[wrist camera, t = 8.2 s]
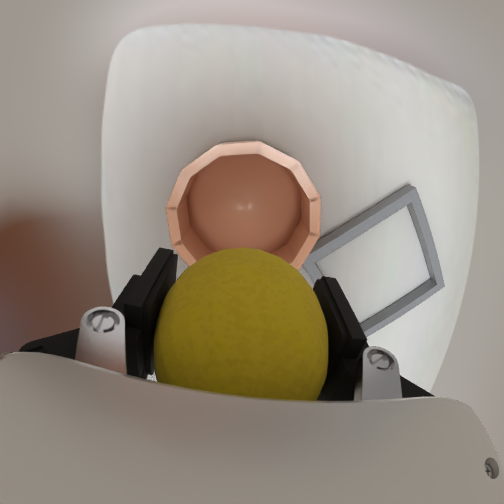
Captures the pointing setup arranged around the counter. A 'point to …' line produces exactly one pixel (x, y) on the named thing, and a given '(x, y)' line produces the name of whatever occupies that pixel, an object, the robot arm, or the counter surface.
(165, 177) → the counter surface
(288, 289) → the lemon
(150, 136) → the counter surface
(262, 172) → the bowl
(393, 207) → the gray square frame
